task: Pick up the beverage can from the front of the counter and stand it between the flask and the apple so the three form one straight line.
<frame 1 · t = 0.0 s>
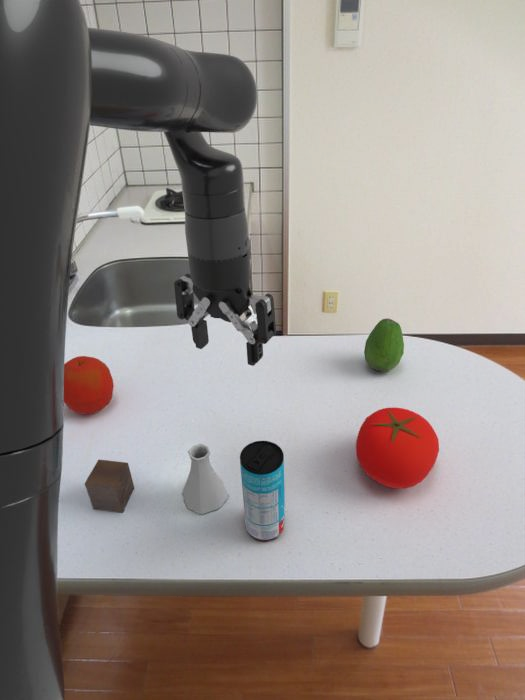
hand: (227, 353, 73), 25 cm above the table, tool pointing down, fingers open, 8 cm apart
tomato: (392, 469, 88), on the table
walnut block: (114, 498, 84), on the table
avocado: (381, 368, 111), on the table
apple: (92, 406, 104), on the table
flask: (205, 496, 84), on the table
beverage can: (265, 527, 79), on the table
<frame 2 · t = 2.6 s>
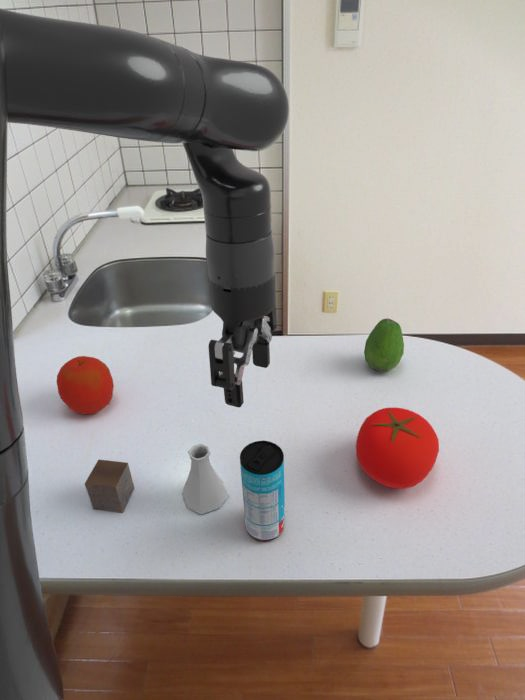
hand: (248, 384, 67), 25 cm above the table, tool pointing down, fingers open, 8 cm apart
nothing on the table moved.
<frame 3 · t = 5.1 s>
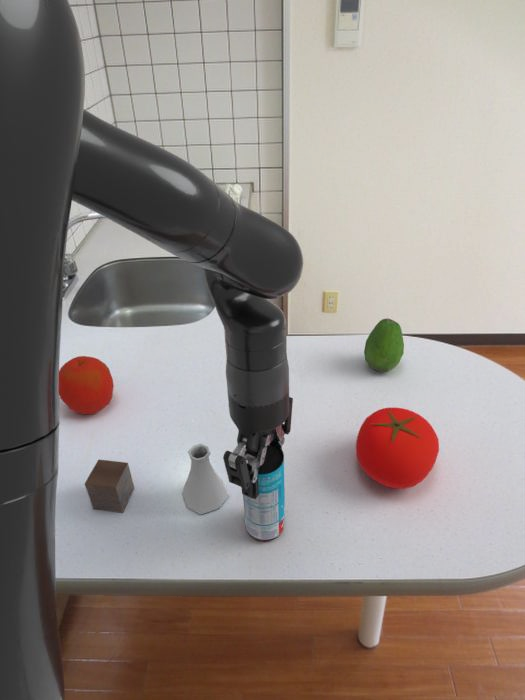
hand: (262, 478, 73), 11 cm above the table, tool pointing down, fingers closed on beverage can, 6 cm apart
beverage can: (265, 527, 79), on the table, touching gripper
everything else where it was.
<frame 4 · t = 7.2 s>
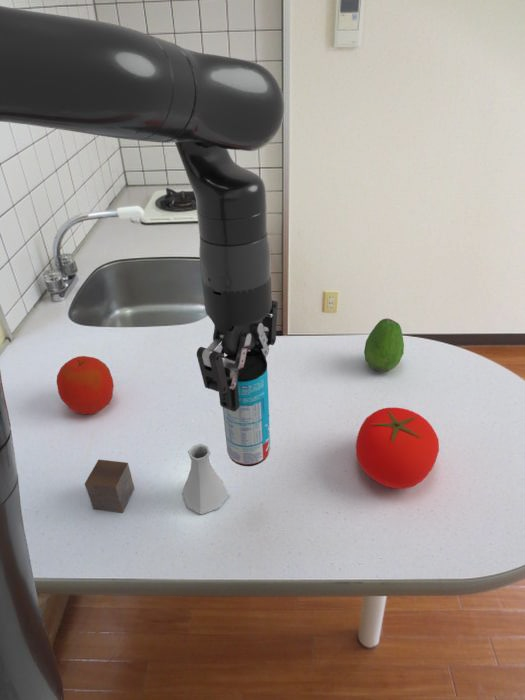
hand: (244, 392, 66), 25 cm above the table, tool pointing down, fingers closed on beverage can, 6 cm apart
beverage can: (248, 453, 72), point 14 cm above the table, touching gripper
everything else where it was.
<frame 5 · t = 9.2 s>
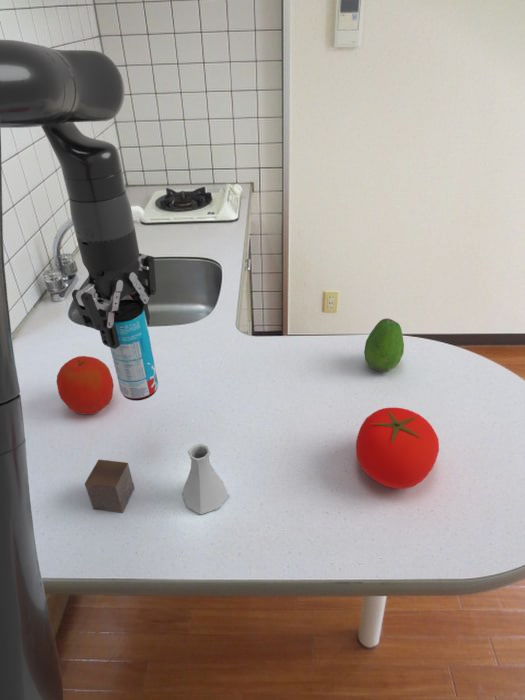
hand: (128, 335, 78), 25 cm above the table, tool pointing down, fingers closed on beverage can, 6 cm apart
beverage can: (140, 391, 84), point 14 cm above the table, touching gripper
everything else where it was.
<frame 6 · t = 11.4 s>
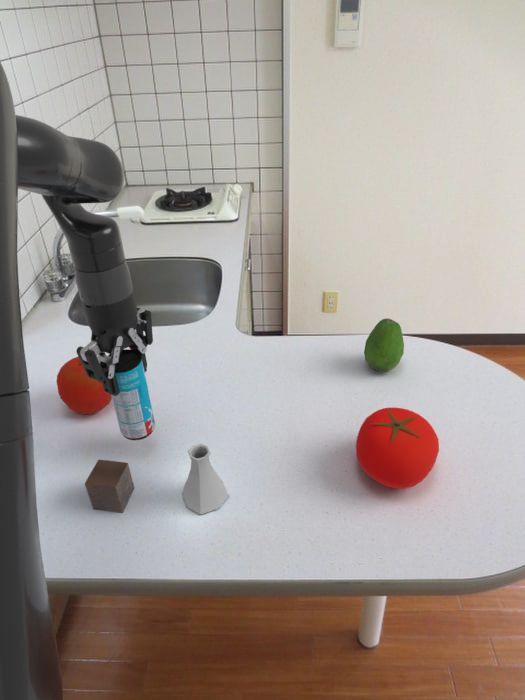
hand: (127, 382, 85), 15 cm above the table, tool pointing down, fingers closed on beverage can, 6 cm apart
beverage can: (138, 430, 91), point 4 cm above the table, touching gripper
everything else where it was.
when the fingers open (11 cm above the table, at t = 13.1 s): beverage can stays where it is, on the table.
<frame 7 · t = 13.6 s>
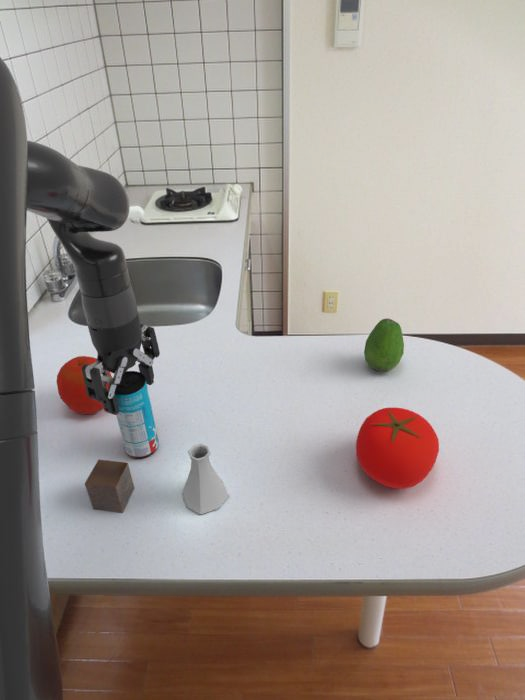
hand: (131, 397, 87), 12 cm above the table, tool pointing down, fingers open, 8 cm apart
beverage can: (142, 448, 94), on the table
everything else where it was.
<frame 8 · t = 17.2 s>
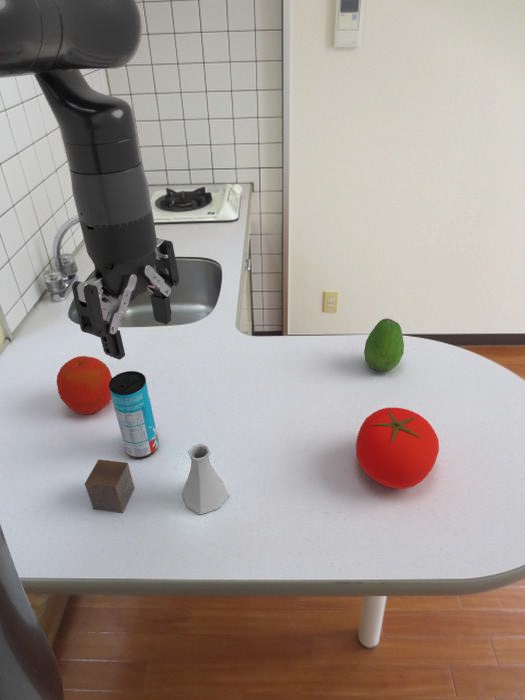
hand: (140, 338, 64), 32 cm above the table, tool pointing down, fingers open, 8 cm apart
nothing on the table moved.
at the end: beverage can 0.1 cm from the target spot, on the table; beverage can tilted 0°; apple moved 0.2 cm from its start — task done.
